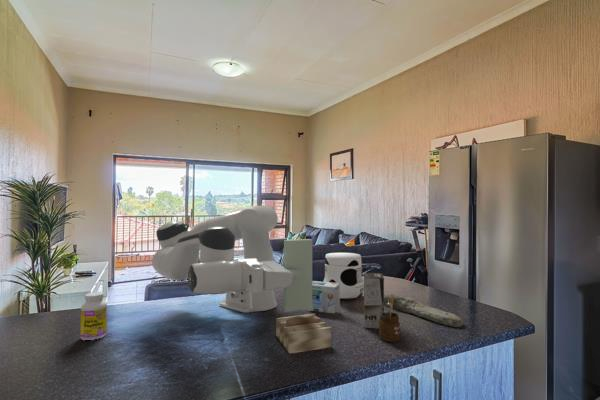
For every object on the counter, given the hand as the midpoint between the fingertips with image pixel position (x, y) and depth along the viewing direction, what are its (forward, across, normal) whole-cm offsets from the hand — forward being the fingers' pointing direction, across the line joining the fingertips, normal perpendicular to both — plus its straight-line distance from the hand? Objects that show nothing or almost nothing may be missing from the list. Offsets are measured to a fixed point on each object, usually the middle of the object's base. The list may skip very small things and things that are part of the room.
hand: (297, 270), depth 97 cm
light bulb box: (+17, -21, -21) cm, 34 cm away
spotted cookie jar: (+33, -37, -21) cm, 54 cm away
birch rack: (0, +3, -20) cm, 21 cm away
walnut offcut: (0, +3, -19) cm, 19 cm away
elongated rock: (+50, -11, -21) cm, 55 cm away
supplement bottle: (-56, -24, -20) cm, 64 cm away
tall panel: (0, 0, -11) cm, 11 cm away
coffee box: (+28, -6, -21) cm, 36 cm away
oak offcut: (0, +7, -19) cm, 20 cm away
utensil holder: (+26, +7, -21) cm, 34 cm away
